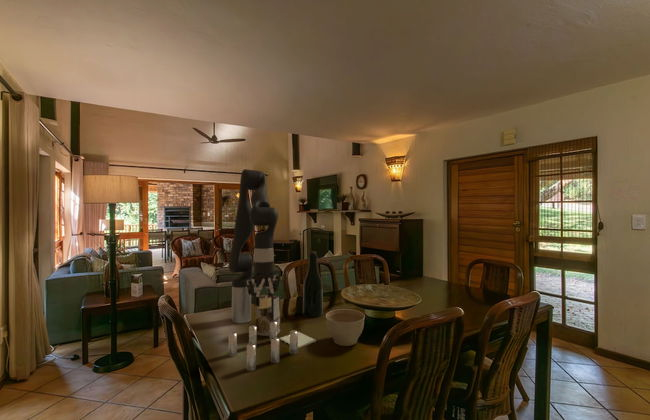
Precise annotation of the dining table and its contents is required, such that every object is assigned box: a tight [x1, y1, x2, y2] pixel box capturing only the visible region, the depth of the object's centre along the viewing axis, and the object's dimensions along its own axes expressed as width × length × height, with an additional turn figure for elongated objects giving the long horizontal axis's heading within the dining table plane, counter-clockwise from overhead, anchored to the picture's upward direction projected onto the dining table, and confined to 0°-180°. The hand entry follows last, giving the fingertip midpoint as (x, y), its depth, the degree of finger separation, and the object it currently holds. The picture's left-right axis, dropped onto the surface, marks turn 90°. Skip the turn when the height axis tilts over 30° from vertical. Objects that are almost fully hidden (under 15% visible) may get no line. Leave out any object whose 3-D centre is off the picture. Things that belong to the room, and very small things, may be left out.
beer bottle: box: [302, 251, 324, 318], centre depth 161 cm, size 10×10×33 cm
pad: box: [279, 331, 317, 349], centre depth 128 cm, size 12×10×1 cm
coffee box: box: [255, 294, 281, 337], centre depth 136 cm, size 9×6×16 cm
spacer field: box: [228, 321, 299, 372], centre depth 116 cm, size 19×21×8 cm
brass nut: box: [257, 294, 271, 309], centre depth 116 cm, size 6×5×4 cm
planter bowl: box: [325, 308, 366, 347], centre depth 127 cm, size 16×16×11 cm
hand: (263, 304), depth 116 cm, fingers closed on brass nut, 5 cm apart
